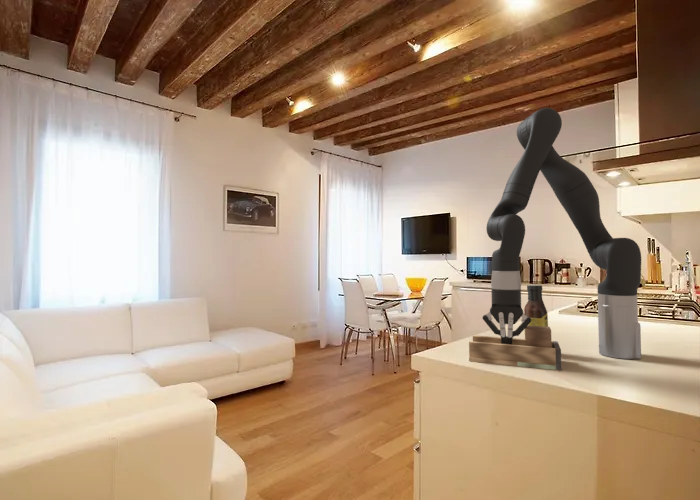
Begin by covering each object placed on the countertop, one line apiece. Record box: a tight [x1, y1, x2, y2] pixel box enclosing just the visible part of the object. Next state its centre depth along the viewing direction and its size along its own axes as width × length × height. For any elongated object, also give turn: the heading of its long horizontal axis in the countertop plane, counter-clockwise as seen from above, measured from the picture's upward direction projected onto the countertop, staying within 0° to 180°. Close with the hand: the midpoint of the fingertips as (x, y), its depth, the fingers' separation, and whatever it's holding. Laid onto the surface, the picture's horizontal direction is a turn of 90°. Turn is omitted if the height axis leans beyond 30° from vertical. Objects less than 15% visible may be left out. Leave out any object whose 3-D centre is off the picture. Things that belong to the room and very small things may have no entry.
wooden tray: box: [468, 335, 562, 371], centre depth 102 cm, size 22×11×5 cm, turn 65°
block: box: [524, 326, 552, 348], centre depth 100 cm, size 6×6×8 cm
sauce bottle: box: [523, 284, 549, 339], centre depth 110 cm, size 6×6×20 cm
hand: (506, 350), depth 103 cm, fingers closed
